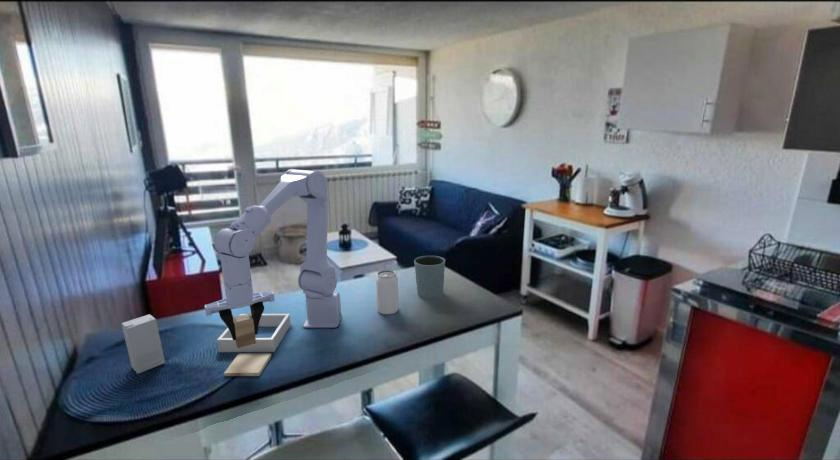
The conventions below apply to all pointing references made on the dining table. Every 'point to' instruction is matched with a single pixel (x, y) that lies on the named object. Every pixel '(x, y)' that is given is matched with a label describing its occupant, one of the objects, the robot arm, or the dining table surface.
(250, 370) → the birch pad
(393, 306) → the can
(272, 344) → the white square frame
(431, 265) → the grey-green cup
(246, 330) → the oak block
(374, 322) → the dining table surface
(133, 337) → the skincare box
